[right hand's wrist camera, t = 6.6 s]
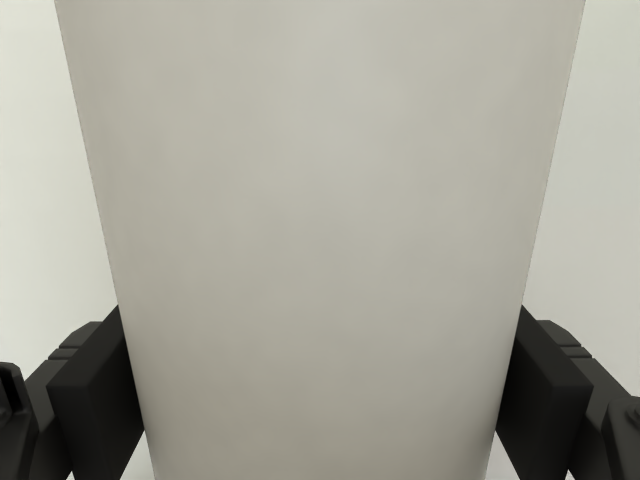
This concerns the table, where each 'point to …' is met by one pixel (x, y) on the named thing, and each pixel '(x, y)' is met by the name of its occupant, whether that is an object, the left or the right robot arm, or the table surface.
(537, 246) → the table surface
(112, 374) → the right robot arm
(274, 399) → the white cylinder
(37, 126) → the table surface
